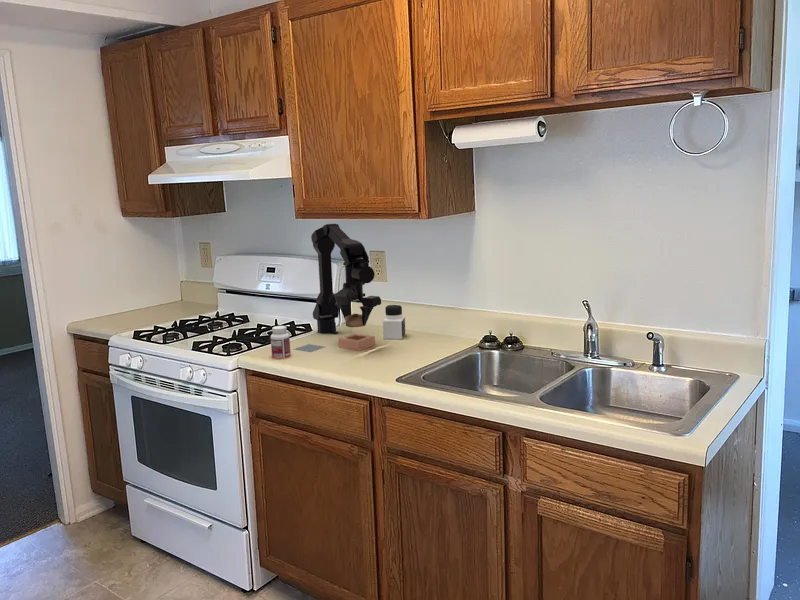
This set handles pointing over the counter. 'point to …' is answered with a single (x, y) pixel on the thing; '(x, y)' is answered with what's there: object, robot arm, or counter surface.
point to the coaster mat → (309, 348)
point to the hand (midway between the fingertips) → (355, 324)
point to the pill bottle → (280, 343)
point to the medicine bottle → (393, 323)
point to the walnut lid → (354, 320)
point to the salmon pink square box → (356, 341)
